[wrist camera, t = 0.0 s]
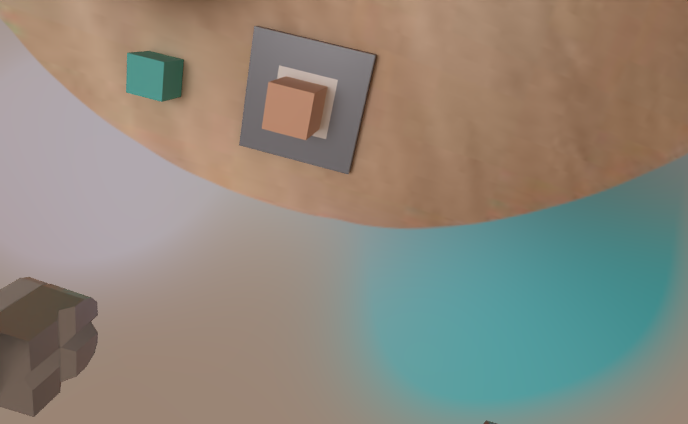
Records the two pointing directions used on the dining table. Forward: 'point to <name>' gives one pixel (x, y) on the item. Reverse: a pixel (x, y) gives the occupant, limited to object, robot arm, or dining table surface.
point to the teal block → (154, 75)
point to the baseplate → (316, 67)
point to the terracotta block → (294, 107)
